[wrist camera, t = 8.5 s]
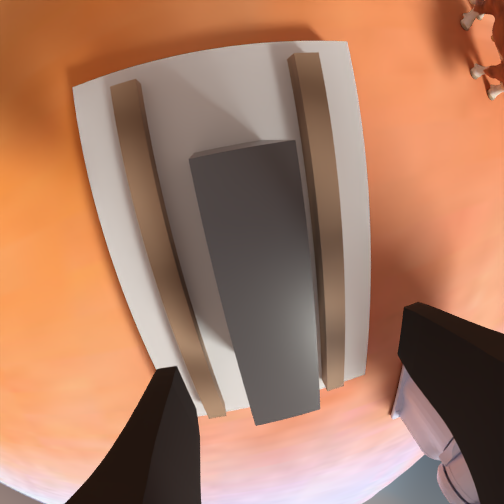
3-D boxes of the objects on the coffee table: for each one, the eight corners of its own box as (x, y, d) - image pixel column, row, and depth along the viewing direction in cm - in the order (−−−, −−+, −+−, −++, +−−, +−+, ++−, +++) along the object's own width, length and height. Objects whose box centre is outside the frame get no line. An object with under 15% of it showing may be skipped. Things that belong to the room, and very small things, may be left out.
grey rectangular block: (291, 344, 18) (319, 408, 13) (240, 356, 18) (254, 426, 13) (261, 139, 14) (295, 139, 9) (193, 153, 13) (186, 159, 8)
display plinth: (354, 358, 22) (371, 384, 19) (181, 399, 21) (181, 431, 18) (332, 50, 14) (357, 35, 11) (86, 92, 13) (62, 84, 10)
